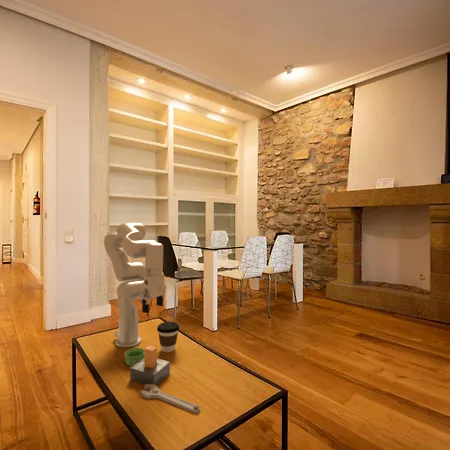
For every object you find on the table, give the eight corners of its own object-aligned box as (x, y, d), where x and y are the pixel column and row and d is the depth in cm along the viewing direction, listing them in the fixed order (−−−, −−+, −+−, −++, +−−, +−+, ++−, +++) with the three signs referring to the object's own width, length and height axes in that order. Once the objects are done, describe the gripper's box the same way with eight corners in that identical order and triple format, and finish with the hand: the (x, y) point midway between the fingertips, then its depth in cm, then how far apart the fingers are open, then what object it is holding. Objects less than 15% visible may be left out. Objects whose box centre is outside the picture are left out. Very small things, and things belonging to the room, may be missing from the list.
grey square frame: (130, 380, 115) (130, 367, 115) (147, 367, 125) (147, 356, 124) (154, 387, 110) (154, 374, 110) (169, 373, 120) (169, 361, 120)
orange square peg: (152, 379, 115) (152, 350, 115) (144, 377, 117) (144, 348, 116) (156, 376, 118) (157, 347, 118) (149, 373, 120) (149, 345, 119)
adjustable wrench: (201, 411, 98) (201, 406, 98) (189, 422, 93) (189, 417, 93) (150, 386, 112) (150, 381, 111) (137, 395, 106) (137, 390, 106)
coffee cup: (171, 342, 149) (171, 319, 149) (183, 349, 141) (184, 325, 141) (152, 349, 141) (152, 325, 141) (164, 357, 134) (165, 331, 133)
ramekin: (135, 355, 136) (136, 345, 135) (149, 360, 131) (149, 351, 131) (119, 363, 128) (120, 353, 128) (133, 369, 123) (133, 359, 123)
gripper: (147, 276, 116) (146, 317, 118) (172, 268, 132) (171, 304, 133) (133, 273, 119) (132, 313, 121) (159, 266, 135) (158, 301, 136)
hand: (152, 309), depth 127 cm, fingers open, 9 cm apart
